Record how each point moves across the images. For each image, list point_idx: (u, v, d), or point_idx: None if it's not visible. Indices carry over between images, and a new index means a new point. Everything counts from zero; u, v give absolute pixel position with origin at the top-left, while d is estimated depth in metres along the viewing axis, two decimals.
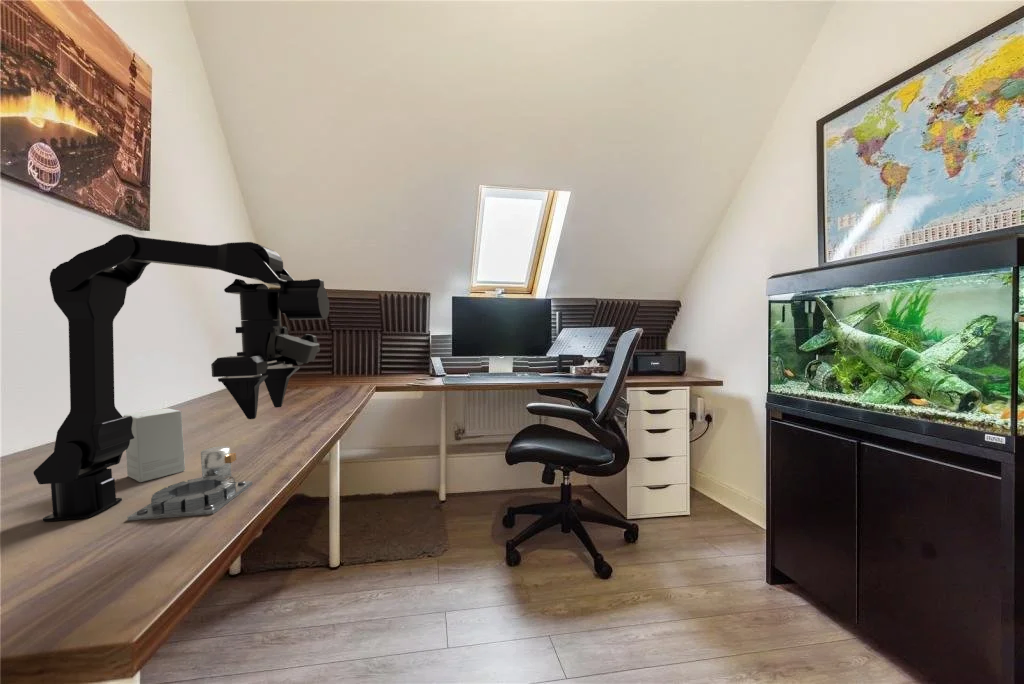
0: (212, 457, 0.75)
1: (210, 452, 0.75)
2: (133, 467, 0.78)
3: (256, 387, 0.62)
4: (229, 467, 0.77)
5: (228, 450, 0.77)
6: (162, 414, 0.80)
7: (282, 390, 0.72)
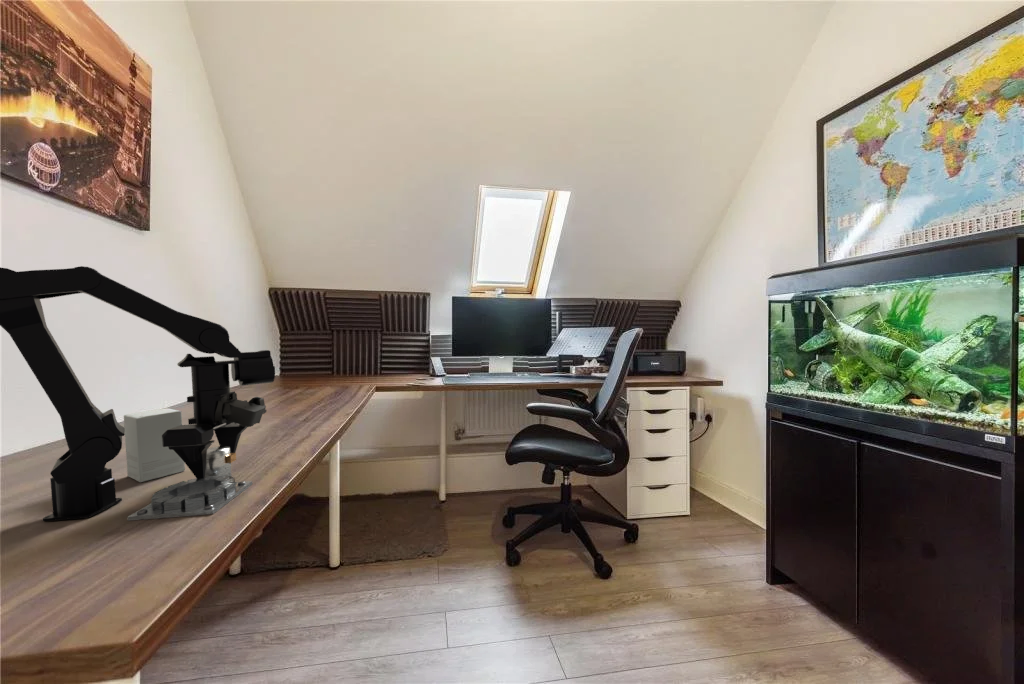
0: (212, 457, 0.75)
1: (210, 452, 0.75)
2: (133, 467, 0.78)
3: (203, 452, 0.71)
4: (229, 467, 0.77)
5: (228, 450, 0.77)
6: (162, 414, 0.80)
7: (233, 446, 0.81)
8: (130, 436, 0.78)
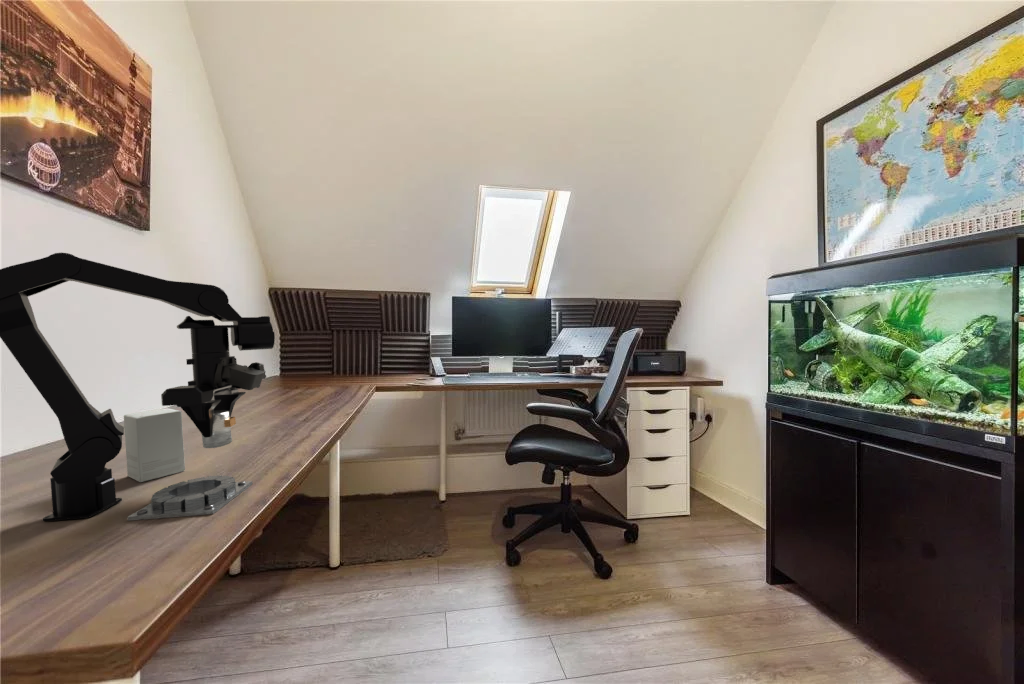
0: None
1: None
2: (133, 467, 0.78)
3: (210, 410, 0.73)
4: (229, 431, 0.77)
5: (227, 414, 0.77)
6: (162, 414, 0.80)
7: None
8: (130, 436, 0.78)
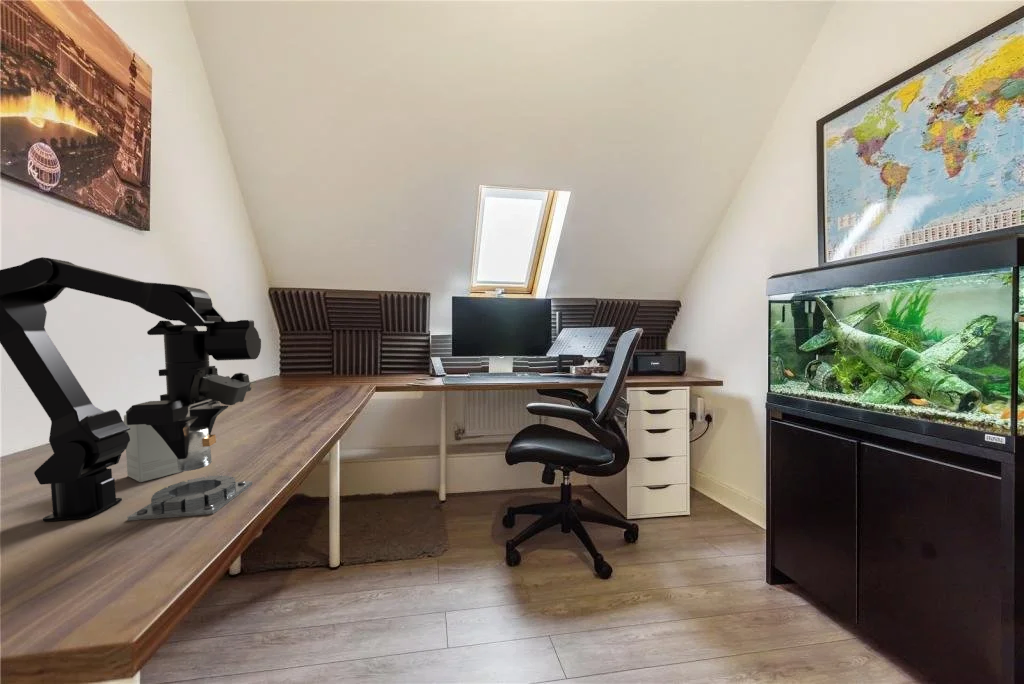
0: None
1: None
2: (133, 467, 0.78)
3: (185, 429, 0.64)
4: (208, 450, 0.68)
5: (206, 432, 0.67)
6: None
7: None
8: (130, 436, 0.78)
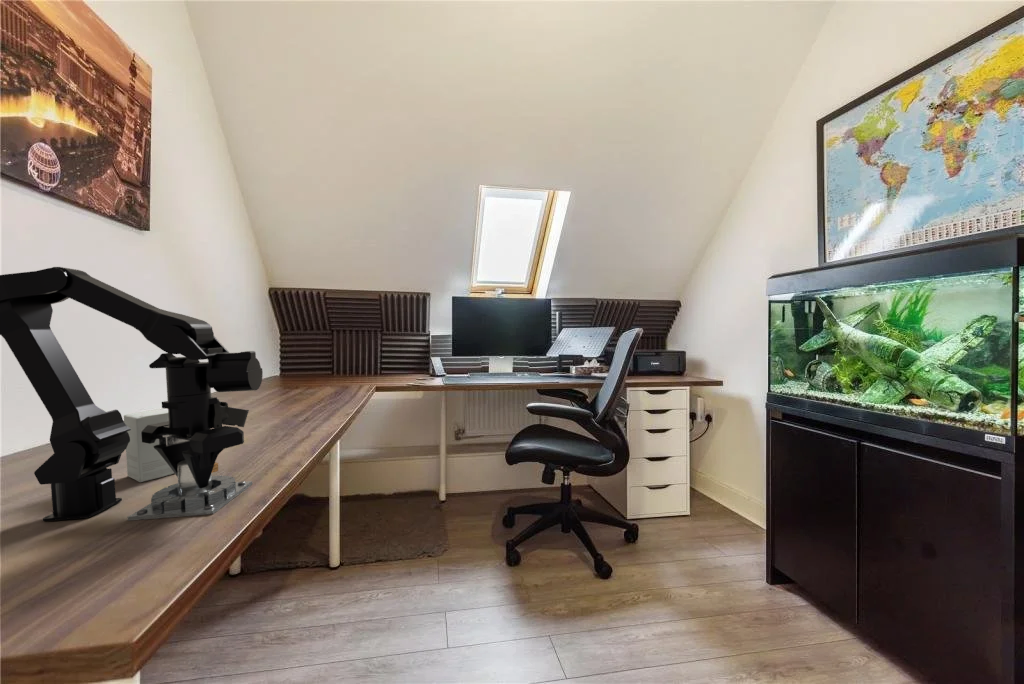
0: None
1: None
2: (133, 467, 0.78)
3: None
4: None
5: None
6: (162, 414, 0.80)
7: None
8: (130, 436, 0.78)
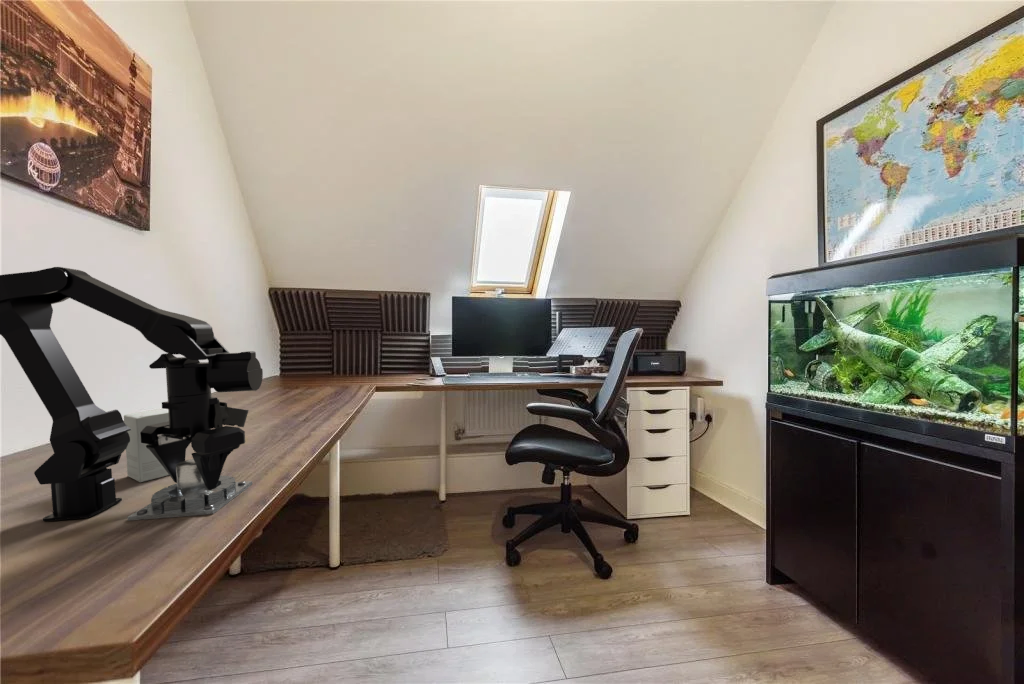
0: None
1: None
2: (133, 467, 0.78)
3: None
4: None
5: None
6: (162, 414, 0.80)
7: None
8: (130, 436, 0.78)
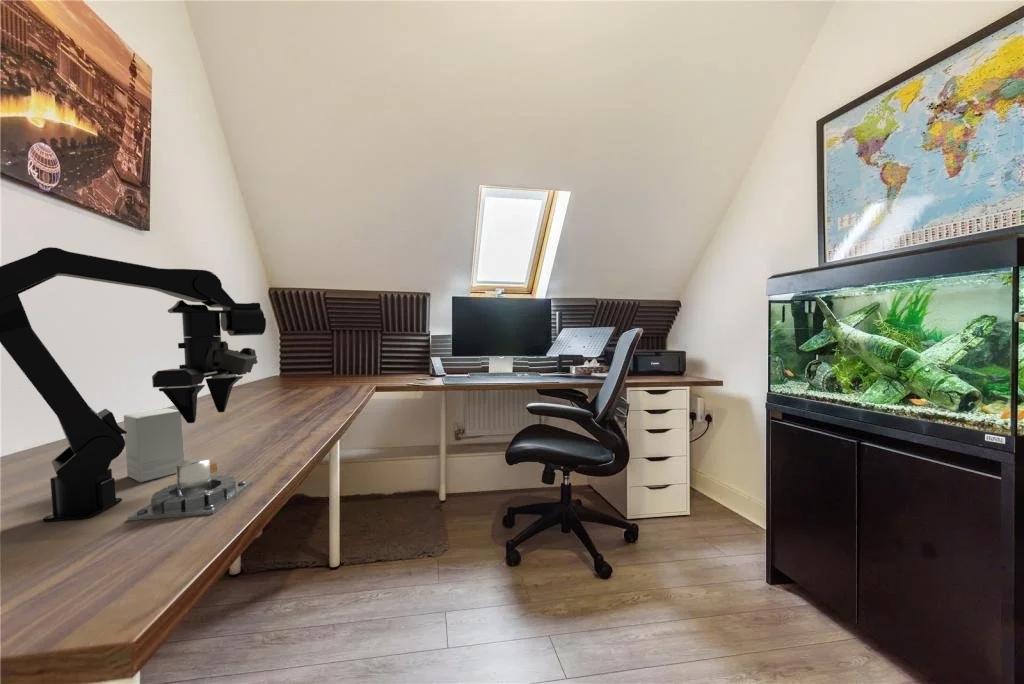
0: (205, 467, 0.67)
1: (199, 463, 0.67)
2: (133, 467, 0.78)
3: (194, 395, 0.72)
4: None
5: None
6: (162, 414, 0.80)
7: (225, 397, 0.82)
8: (130, 436, 0.78)
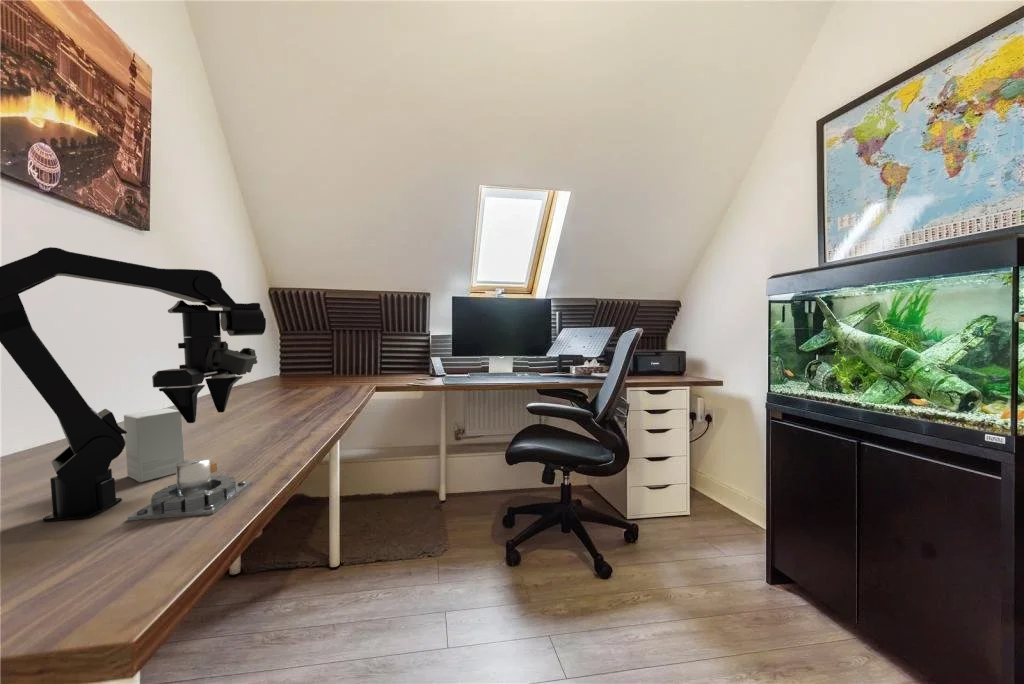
0: (205, 467, 0.67)
1: (199, 463, 0.67)
2: (133, 467, 0.78)
3: (194, 395, 0.72)
4: None
5: None
6: (162, 414, 0.80)
7: (224, 397, 0.82)
8: (130, 436, 0.78)
